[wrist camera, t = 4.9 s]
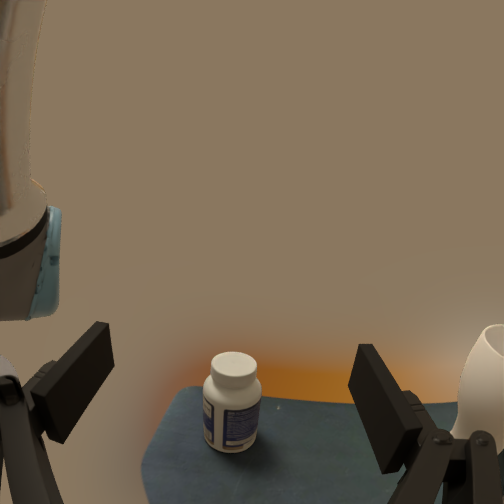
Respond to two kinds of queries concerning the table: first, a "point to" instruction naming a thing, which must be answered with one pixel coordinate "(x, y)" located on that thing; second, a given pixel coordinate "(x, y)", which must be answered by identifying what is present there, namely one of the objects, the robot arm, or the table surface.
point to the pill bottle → (231, 402)
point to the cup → (483, 388)
